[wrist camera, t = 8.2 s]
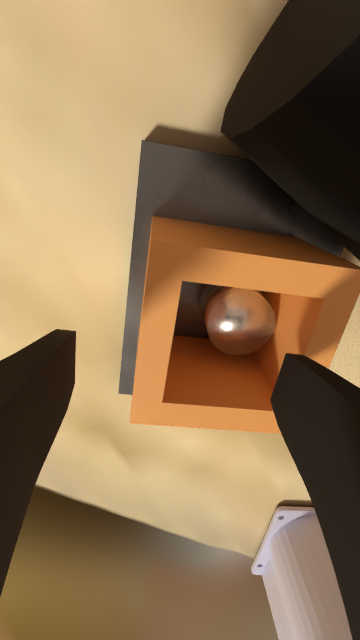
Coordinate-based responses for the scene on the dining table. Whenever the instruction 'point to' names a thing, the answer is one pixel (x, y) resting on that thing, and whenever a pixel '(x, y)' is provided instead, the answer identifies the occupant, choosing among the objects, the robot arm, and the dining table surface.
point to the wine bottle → (306, 111)
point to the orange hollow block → (200, 354)
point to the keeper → (215, 209)
